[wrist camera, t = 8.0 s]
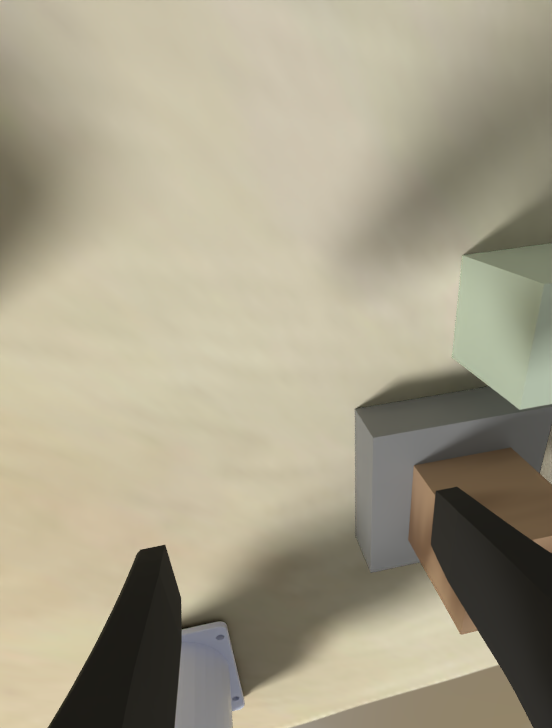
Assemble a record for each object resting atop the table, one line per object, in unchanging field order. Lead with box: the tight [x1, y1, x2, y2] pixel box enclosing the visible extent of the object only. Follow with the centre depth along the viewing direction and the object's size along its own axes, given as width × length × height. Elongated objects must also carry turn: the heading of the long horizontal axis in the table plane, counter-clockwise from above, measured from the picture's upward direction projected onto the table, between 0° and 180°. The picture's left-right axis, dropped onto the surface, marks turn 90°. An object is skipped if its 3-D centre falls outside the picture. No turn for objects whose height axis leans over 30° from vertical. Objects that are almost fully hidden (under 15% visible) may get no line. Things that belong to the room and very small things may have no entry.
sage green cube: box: [452, 243, 552, 410], centre depth 18 cm, size 5×5×5 cm
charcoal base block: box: [355, 386, 552, 573], centre depth 23 cm, size 9×9×3 cm
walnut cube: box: [408, 448, 552, 634], centre depth 19 cm, size 5×5×5 cm
